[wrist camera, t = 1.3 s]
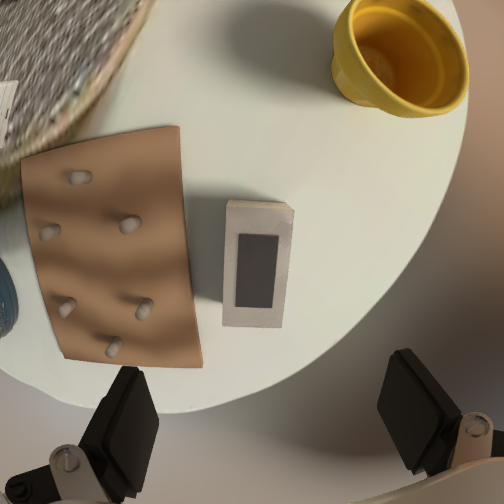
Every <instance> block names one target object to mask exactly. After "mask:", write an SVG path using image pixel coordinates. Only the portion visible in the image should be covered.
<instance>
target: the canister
mask: <svg viewBox="0 0 504 504" xmlns="http://www.w3.org/2000/svg"><path fill="white" fill-rule="evenodd" d="M17 318H18V299H17V294H16V290H15V287H14V284H13V281H12V279H11V276H10V274H9V272H8V270H7V268H6V267H5V265H4V263H3V262H2V260H1V259H0V339H1V338H2V337H4V336H6V335H7V334H8V333H9V332H10V331H11V330H12V328H13V326H14V325H15V323H16V321H17Z"/></svg>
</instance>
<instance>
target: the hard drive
mask: <svg viewBox="0 0 504 504" xmlns="http://www.w3.org/2000/svg"><path fill="white" fill-rule="evenodd" d="M17 84H18V81H17V80H10V81H2V82H0V148H3V143H4V137H5V132H6V127H7V122H8V118H9V114H10V109H11V105H12V102H13V98H14V94H15V91H16V87H17Z"/></svg>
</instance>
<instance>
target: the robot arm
mask: <svg viewBox="0 0 504 504" xmlns="http://www.w3.org/2000/svg"><path fill="white" fill-rule="evenodd" d="M377 409H378V412H379V414H380V416H381V418H382V419H383V422H384V423H385V426H386V428H387V429H388V432H389V433H390V436H391V438H392V439H393V442H394V443H395V446H396V448H397V450H398V452H399V454H400V456H401V458H402V460H403V462H404V464H405V466H406V468H407V469H408V470H411V471H412V473H413V475H416V474H419V473H421V472H424V471H426V473H427V478H426V479H424V480H422V481H419V482H416V483H414V484H411V485H408V486H405V487H402V488H400V489H397V490H394V491H391V492H388V493H384V494H382V495H378V496H374V497H371V498H367V499H364V500H360V501H355V502H351V503H347V504H504V432H502V431H498V430H493V424H492V422H491V420H490V419H489V418H488V417H487V416H485V415H484V414H481V413H469V414H467V415H465V416H464V417H463V416H462V415H461V411H460V410H459V409H458V407H457V406H456V405H455V403H454V402H453V401H452V399H451V398H450V397H449V396H448V394H447V393H446V392H445V391H444V389H443V388H442V387H441V386H440V384H439V383H438V382H437V381H436V380H435V378H434V377H433V376H432V374H431V373H430V372H429V371H428V370H427V368H426V367H425V366H424V365H423V363H422V362H421V361H420V360H419V359H418V358H417V356H416V355H415V354H414V353H413V352H412V350H411V349H409V348H405V349H401V350H396V351H395V352H394V354H393V355H391V356H390V359H389V364H388V368H387V371H386V375H385V379H384V382H383V386H382V389H381V393H380V396H379V399H378V403H377ZM158 427H159V418H158V415H157V412H156V410H155V407H154V404H153V401H152V398H151V395H150V392H149V389H148V386H147V382H146V379H145V376H144V373H143V371H139V369H138V367H133V366H122V367H121V369H120V371H119V373H118V374H117V376H116V378H115V380H114V382H113V384H112V385H111V387H110V389H109V391H108V393H107V395H106V396H105V397H103V398H102V400H101V401H100V403H99V405H98V407H97V409H96V411H95V413H94V415H93V417H92V419H91V421H90V423H89V425H88V427H87V429H86V431H85V433H84V435H83V437H82V439H81V441H80V443H79V445H78V446H75V445H69V444H66V445H62V446H59V447H57V448H56V449H55V450H54V451H53V452H52V453H51V455H50V458H49V465H46V466H43V467H40V468H37V469H35V470H32V471H28V472H25V473H22V474H19V475H16V476H13V477H11V478H10V479H9V480H8V482H7V483H6V487H5V493H2V492H1V491H0V504H123V501H124V499H125V497H130V498H136V494H137V492H141V491H142V487H143V483H144V480H145V476H146V472H147V468H148V464H149V460H150V456H151V453H152V449H153V445H154V442H155V438H156V434H157V431H158Z"/></svg>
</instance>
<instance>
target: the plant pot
mask: <svg viewBox="0 0 504 504" xmlns="http://www.w3.org/2000/svg"><path fill="white" fill-rule="evenodd" d="M333 47H334V52H335V53H334V56H333V59H332V63H331V73H332V77H333V80H334V82H335V84H336V86H337V88H338V89H339V91H340V92H341V93H342V94H343V95H344V96H345V97H346V98H347V99H349V100H350V101H352V102H354V103H356V104H358V105H360V106H364V107H373V108H379V109H381V110H383V111H385V112H387V113H389V114H392V115H395V116H398V117H404V118H422V117H431V116H437V115H442V114H446V113H448V112H450V111H452V110H453V109H455V108H456V107H457V106H458V105H459V104H460V103H461V102H462V100H463V99H464V97H465V95H466V92H467V89H468V85H469V66H468V60H467V57H466V53H465V50H464V48H463V45H462V43H461V41H460V39H459V37H458V35H457V34H456V32H455V30H454V29H453V27H452V26H451V25H450V23H449V22H448V21H447V20H446V19H445V17H444V16H443V15H442V14H441V13H440V12H439V11H438V10H436V9H435V8H434V7H433V6H432V5H430V4H429V3H428V2H426V1H425V0H351V1H350V2H349V4H348V5H347V6H346V7H345V9H344V10H343V12H342V13H341V15H340V16H339V18H338V20H337V22H336V25H335V28H334V33H333Z"/></svg>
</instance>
